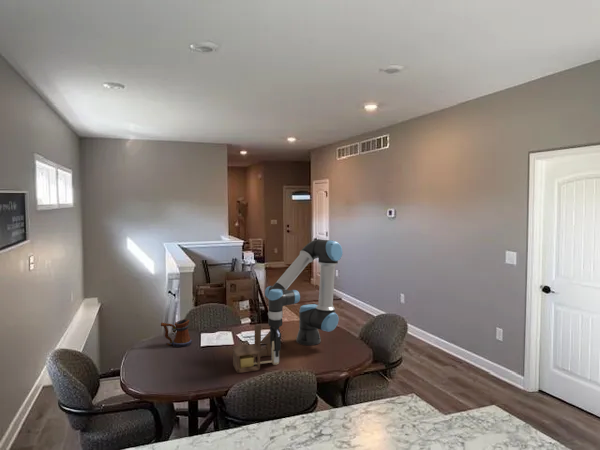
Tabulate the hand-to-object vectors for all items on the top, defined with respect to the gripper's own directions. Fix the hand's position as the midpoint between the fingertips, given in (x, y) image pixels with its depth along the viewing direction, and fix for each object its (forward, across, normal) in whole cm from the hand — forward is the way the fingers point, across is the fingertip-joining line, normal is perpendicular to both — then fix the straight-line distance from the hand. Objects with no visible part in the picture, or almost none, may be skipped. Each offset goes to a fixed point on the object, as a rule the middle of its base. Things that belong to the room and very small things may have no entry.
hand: (275, 360), depth 230 cm
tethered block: (+2, 0, -9) cm, 9 cm away
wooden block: (+2, -14, -3) cm, 14 cm away
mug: (+2, -48, -48) cm, 68 cm away
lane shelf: (+2, 0, -16) cm, 16 cm away
